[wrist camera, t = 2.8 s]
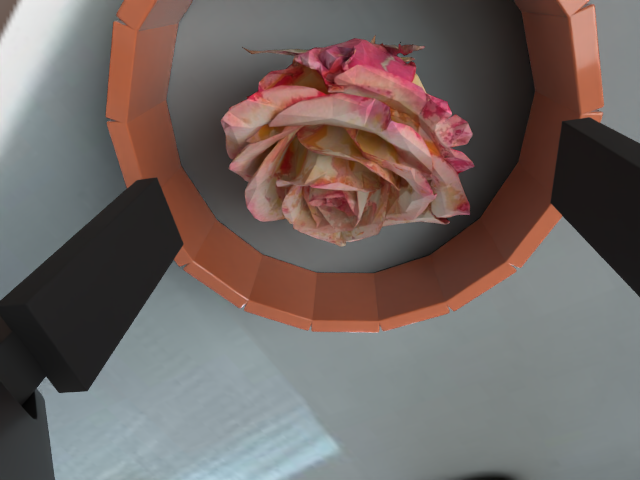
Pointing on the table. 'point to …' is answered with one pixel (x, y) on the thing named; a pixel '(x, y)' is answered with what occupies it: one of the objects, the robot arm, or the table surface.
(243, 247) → the terracotta brick ring
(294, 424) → the table surface
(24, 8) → the table surface
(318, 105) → the flower
